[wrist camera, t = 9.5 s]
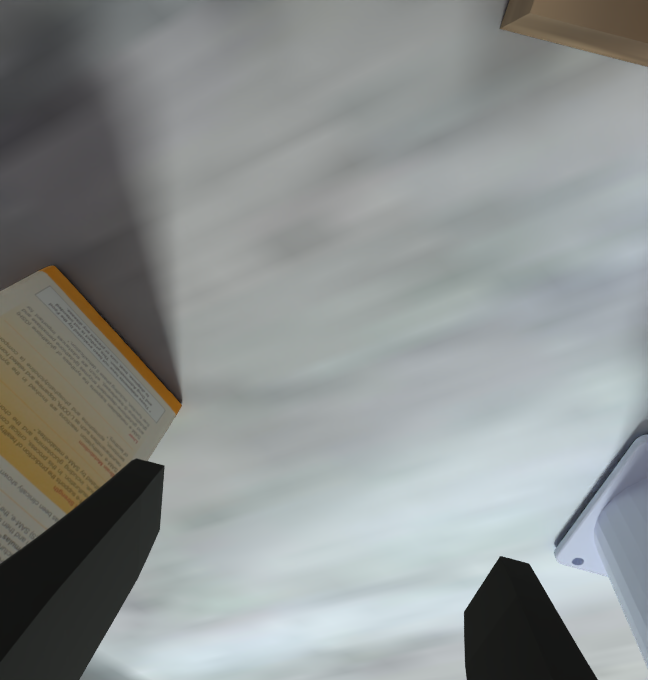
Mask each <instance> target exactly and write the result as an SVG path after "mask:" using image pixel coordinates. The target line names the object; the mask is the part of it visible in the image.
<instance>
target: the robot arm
mask: <svg viewBox="0 0 648 680" xmlns="http://www.w3.org/2000/svg"><path fill="white" fill-rule="evenodd" d="M163 479H164V465H160V464H156V463H152V462H149V461H145V460H141V459H137V458H136V459H134V460H132V461H130V462H129V463H128V464H127V465H126V466H125V467H123V468H122V469H121V470H120V471H119V472H118V473H116V474H115V475H114V476H113V477H112V478H111V479H109V480H108V481H107V482H106V483H105V484H103V485H102V486H101V487H100V488H99V489H97V490H96V491H95V492H94V493H93V494H91V495H90V496H89V497H88V498H87V499H85V500H84V501H83V502H82V503H80V504H79V505H78V506H77V507H75V508H74V509H73V510H72V511H70V512H69V513H68V514H66V515H65V516H64V517H63V518H61V519H60V520H59V521H57V522H56V523H55V524H53V525H52V526H51V527H50V528H48V529H47V530H46V531H44V532H43V533H42V534H41V535H39V536H38V537H37V538H35V539H34V540H32V541H31V542H30V543H28V544H27V545H26V546H24V547H23V548H21V549H20V550H19V551H17V552H16V553H14V554H13V555H12V556H10V557H9V558H7V559H6V560H5V561H3V562H2V563H0V680H79V679H80V677H81V676H82V674H83V672H84V671H85V669H86V667H87V665H88V664H89V662H90V660H91V658H92V657H93V655H94V653H95V652H96V650H97V648H98V646H99V645H100V643H101V641H102V640H103V638H104V636H105V634H106V633H107V631H108V629H109V627H110V626H111V624H112V622H113V621H114V619H115V617H116V615H117V614H118V612H119V610H120V608H121V607H122V605H123V603H124V602H125V600H126V598H127V596H128V595H129V593H130V591H131V589H132V588H133V586H134V584H135V582H136V581H137V579H138V577H139V575H140V572H141V570H142V568H143V566H144V564H145V562H146V559H147V557H148V555H149V553H150V551H151V548H152V546H153V544H154V541H155V539H156V537H157V535H158V532H159V530H160V519H161V505H162V492H163ZM554 555H555V558H556V561H557V562H558V563H560V564H563V565H566V566H570V567H574V568H577V569H581V570H585V571H588V572H592V573H596V574H600V575H603V576H607V577H609V579H610V582H611V584H612V586H613V589H614V591H615V593H616V596H617V598H618V600H619V603H620V605H621V607H622V610H623V612H624V614H625V617H626V619H627V621H628V624H629V626H630V628H631V631H632V633H633V635H634V638H635V640H636V643H637V645H638V647H639V650H640V652H641V654H642V657H643V659H644V661H645V664H646V666H647V668H648V434H647V435H642V436H640V437H638V438H637V439H636V440H635V441H634V442H633V444H632V445H631V446H630V448H629V449H628V451H627V452H626V453H625V455H624V456H623V457H622V459H621V460H620V461H619V463H618V464H617V466H616V467H615V468H614V470H613V471H612V472H611V474H610V475H609V477H608V478H607V479H606V481H605V482H604V483H603V485H602V486H601V487H600V489H599V490H598V492H597V493H596V494H595V496H594V497H593V498H592V500H591V501H590V502H589V504H588V505H587V507H586V508H585V509H584V511H583V512H582V513H581V515H580V516H579V518H578V519H577V520H576V522H575V523H574V524H573V526H572V527H571V528H570V530H569V531H568V533H567V534H566V535H565V537H564V538H563V539H562V541H561V542H560V544H559V545H558V546H557V548H556V549H555V551H554ZM464 644H465V668H466V676H467V680H598V679H597V678H596V676H595V674H594V673H593V671H592V669H591V668H590V666H589V665H588V663H587V661H586V660H585V658H584V656H583V655H582V653H581V651H580V650H579V648H578V646H577V645H576V643H575V641H574V640H573V638H572V636H571V634H570V633H569V631H568V629H567V628H566V626H565V624H564V623H563V621H562V619H561V617H560V616H559V614H558V612H557V611H556V609H555V607H554V605H553V604H552V602H551V600H550V598H549V597H548V595H547V593H546V592H545V590H544V588H543V586H542V585H541V583H540V581H539V580H538V578H537V576H536V574H535V573H534V571H533V569H532V568H531V566H530V564H528V563H525V562H521V561H517V560H513V559H510V558H506V557H502V556H500V557H499V559H498V560H497V562H496V563H495V565H494V567H493V568H492V570H491V571H490V573H489V574H488V576H487V577H486V579H485V580H484V582H483V584H482V585H481V587H480V588H479V590H478V591H477V593H476V594H475V596H474V597H473V599H472V601H471V602H470V604H469V605H468V607H467V608H466V610H465V611H464Z"/></svg>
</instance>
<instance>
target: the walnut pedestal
mask: <svg viewBox="0 0 648 680" xmlns="http://www.w3.org/2000/svg"><path fill="white" fill-rule="evenodd" d="M500 29H503V30H507V31H511V32H514V33H518V34H522V35H526V36H530V37H534V38H538V39H542V40H546V41H549V42H553V43H557V44H561V45H565V46H569V47H573V48H577V49H580V50H584V51H588V52H592V53H596V54H600V55H604V56H608V57H612V58H615V59H619V60H623V61H627V62H631V63H635V64H639V65H643V66H646V67H648V0H510V1H509V3H508V6H507V9H506V12H505V15H504V18H503V21H502V24H501V27H500Z"/></svg>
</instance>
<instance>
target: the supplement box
mask: <svg viewBox="0 0 648 680" xmlns="http://www.w3.org/2000/svg"><path fill="white" fill-rule="evenodd" d="M181 406H182V405H181V404H180V402H179V401H178V400H177V399H176V398H175V397H174V396H173V394H172V393H171V392H170V391H168V390H167V388H166V387H165V386H164V385H163V384H162V383H161V382H160V381H159V379H158V378H157V377H156V376H155V375H154V374H153V373H152V372H151V371H150V370H149V369H148V368H147V366H146V365H145V364H144V363H143V362H142V361H141V360H140V358H139V357H138V356H137V355H136V354H135V353H134V352H133V351H132V350H131V349H130V348H129V346H128V345H127V344H126V343H125V342H124V341H123V340H122V339H121V338H120V337H119V335H118V334H117V333H116V332H115V331H114V330H113V329H112V328H111V327H110V326H109V325H108V323H107V322H106V321H105V320H104V319H103V318H102V317H101V316H100V315H99V314H98V313H97V311H96V310H95V309H94V308H93V307H92V306H91V305H90V304H89V303H88V302H87V301H86V300H85V298H84V297H83V296H82V295H81V294H80V293H79V292H78V290H77V289H76V288H75V287H74V286H73V285H72V284H71V283H70V282H69V280H68V279H67V278H66V277H65V276H64V275H63V274H62V273H61V272H60V271H59V270H58V269H57V268H56V267H55V266H52V265H51V266H48V267H46V268H43V269H41V270H39V271H37V272H35V273H34V274H32V275H30V276H28V277H26V278H24V279H22V280H20V281H19V282H17V283H15V284H13V285H11V286H9V287H7V288H5V289H4V290H2V291H0V563H2V562H3V561H5V560H6V559H7V558H9V557H10V556H12V555H13V554H14V553H16V552H17V551H19V550H20V549H21V548H23V547H24V546H26V545H27V544H28V543H30V542H31V541H32V540H34V539H35V538H37V537H38V536H39V535H41V534H42V533H43V532H44V531H46V530H47V529H48V528H50V527H51V526H52V525H53V524H55V523H56V522H57V521H59V520H60V519H61V518H63V517H64V516H65V515H66V514H68V513H69V512H70V511H72V510H73V509H74V508H75V507H77V506H78V505H79V504H80V503H82V502H83V501H84V500H85V499H87V498H88V497H89V496H90V495H91V494H93V493H94V492H95V491H96V490H97V489H99V488H100V487H101V486H102V485H103V484H105V483H106V482H107V481H108V480H109V479H111V478H112V477H113V476H114V475H115V474H116V473H118V472H119V471H120V470H121V469H122V468H123V467H125V466H126V465H127V464H128V463H129V462H130V461H132V460H134V459H136V458H137V459H141V460H145V461H148V459H149V458H150V456H151V455H152V453H153V452H154V450H155V448H156V447H157V445H158V443H159V442H160V440H161V439H162V437H163V436H164V434H165V433H166V431H167V430H168V428H169V426H170V425H171V423H172V421H173V419H174V418H175V417H176V415H177V413H178V412H179V410H180V408H181Z"/></svg>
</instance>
